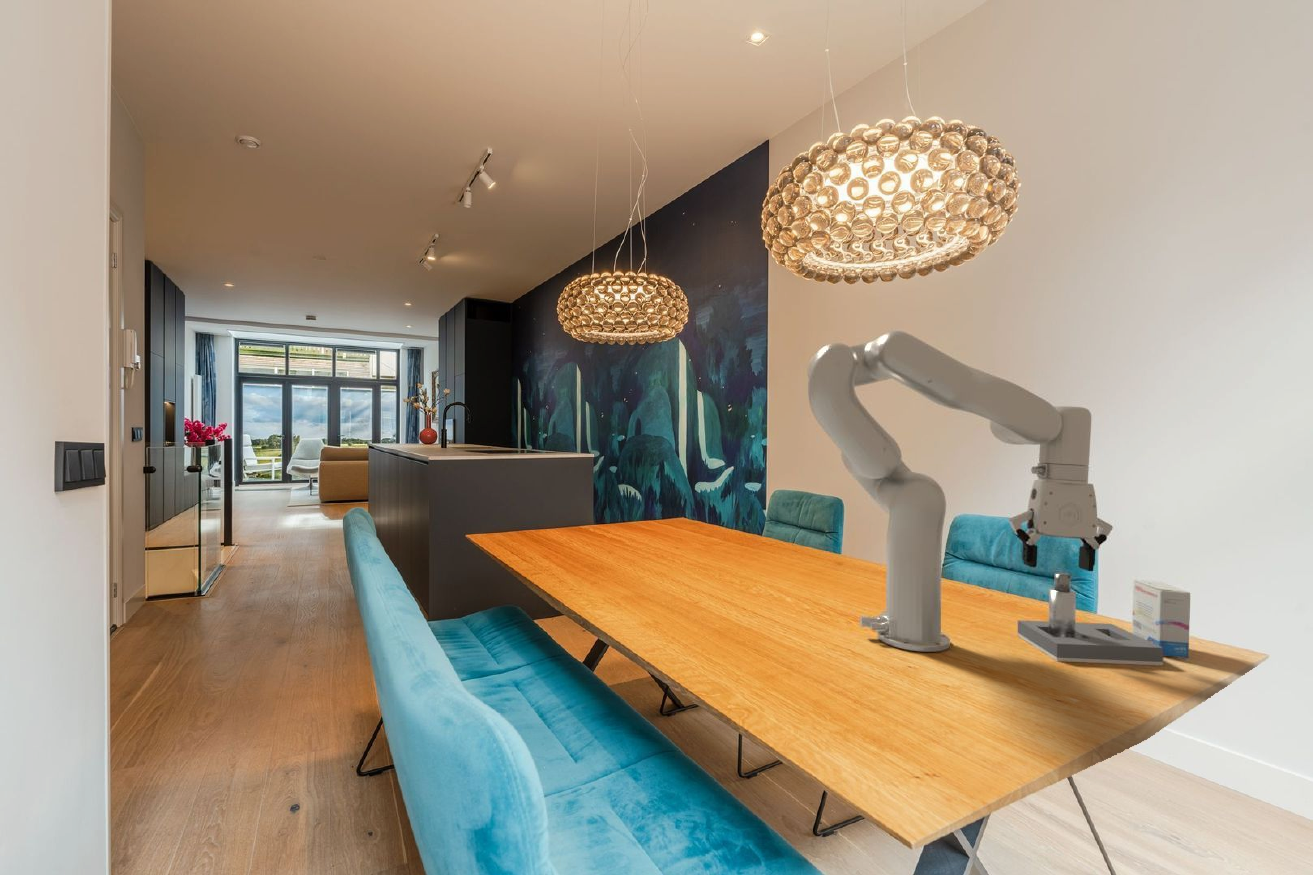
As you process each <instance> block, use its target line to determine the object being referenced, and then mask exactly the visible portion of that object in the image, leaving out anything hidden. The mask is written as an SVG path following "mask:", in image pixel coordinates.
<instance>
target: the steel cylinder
mask: <svg viewBox="0 0 1313 875" xmlns="http://www.w3.org/2000/svg"><path fill="white" fill-rule="evenodd" d="M1076 595H1077V594H1076V591H1075V590H1071V574H1070V573H1064V572H1054V587H1051V588H1048V621H1049V634H1050V635H1052V636H1053V637H1063V638H1075V622H1076V608H1077V607H1076V606H1077V605H1076V604H1077V603H1076V602H1077V601H1076V600H1077V599H1076V598H1077V597H1076Z"/></svg>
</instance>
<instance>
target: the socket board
mask: <svg viewBox="0 0 1313 875" xmlns="http://www.w3.org/2000/svg"><path fill="white" fill-rule="evenodd" d="M1017 637H1019V638H1020V639H1022V640H1023V641H1025V642H1027V644H1030V645H1031V646H1033V647H1034V648H1036V649H1038V650H1039V651H1040V652H1042V653H1044V654H1045V655H1046V656H1048V657H1050V658H1052V659H1053V660H1055V661H1056V662H1071V663H1075V662H1076V663H1091V664H1093V663H1094V664H1095V663H1096V664H1115V665H1116V664H1118V665H1119V664H1120V665H1142V666H1143V665H1144V666H1164V656H1163V648H1162V647H1160V646H1158V645H1156V644H1154V643H1152V642H1149V641H1147V640H1145V639H1143V638H1141V637H1139V636H1136V635H1134V634H1132V632H1130V631H1128V630H1125V629H1123V628H1122V627H1119V626H1117V625H1115V624H1112V623H1104V622H1103V623H1100V622H1099V623H1098V622H1097V623H1096V622H1077V621H1075V638H1063V637H1053V636H1052V635H1050V634H1049V620H1047V621H1046V620H1043V621H1042V620H1017Z"/></svg>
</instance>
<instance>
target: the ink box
mask: <svg viewBox="0 0 1313 875" xmlns="http://www.w3.org/2000/svg"><path fill="white" fill-rule="evenodd" d="M1132 588H1133V589H1132V590H1133V591H1132V592H1133V593H1132V594H1133V595H1132V619H1131V620H1132V621H1131V623H1132V624H1131V633H1132V634H1134V635H1136V636H1139V637H1141V638H1143V639H1145V640H1147V641H1149V642H1152V643H1154V644H1156V645H1158V646H1160V647H1162V648H1163V657H1173V658H1187V659H1188V658H1189V655H1190V654H1189V652H1190V651H1189V650H1190V649H1189V647H1190V619H1191V618H1190V614H1191V592H1190V591H1187V590H1184V589H1181V588H1178V587H1176V586H1173V585H1170V584H1167V583H1164V582H1163V581H1153V580H1142V579H1134V580H1133V587H1132Z"/></svg>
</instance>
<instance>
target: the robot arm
mask: <svg viewBox="0 0 1313 875" xmlns="http://www.w3.org/2000/svg"><path fill="white" fill-rule="evenodd" d="M806 372H807V378H808V382H807V383H808V384H807V394H808V395H807V396H808V402H809V406H810V408H811V412H812V414H813V417H814V418H815V419H816V421H817V423H818V424H819V426H820V427H821V429H823V431H824V432H825V433H826V434H827V435H828V437H829V438H830V439H831V441H832V442H833V443H834V444H835V445H836V447H837V448H838V449H839V450H840V451H841V452H840V453H841V455H840V456H841V460H842V462H843V465H844V467H845V469H847V471H848V472H849V474H850V475H851V476H852V477H853V478H854V479H855V480H856V481H857V482H858V483H859V485H860V486H861V487H862V488H863V489H864V491H865V492H867V494H868V495H869V496H870V497H871V498H872V499H873V501H875V503H876V504H877V505H878V506H879V507H880V508H881V509H882V510H883V512H885V513H888V514H889V515H888V516H889V519H888V525H887V534H886V545H885V546H886V555H885V556H886V574H885V575H886V576H885V577H886V578H885V579H886V580H885V581H886V583H885V592H886V593H885V610H883V611H882V610H881V611H880V612H881V613H880V615H876V616H875V617H874V616H873V617H871V616H865V615H864V616H863V615H862V616H861V615H860V617H859V625H860V627H861V628H864V627H865V628H869V629H870V630H871V631H873V630H874V631H876V635H877V638H878V639H879V640H880V641H881V642H882V643H884V644H887V645H889V646H892V647H895V648H898V649H901V650H902V649H903V650H905V651H906V650H907V651H911V652H912V651H914V652H922V653H925V652H926V653H927V652H928V653H933V652H935V653H936V652H941V651H945V650H947V649H949V648H950V647H951V638H950V637H949V636H948V635H946V634H945V633H943V632H942V552H943V551H942V543H943V530H944V526H945V525H944V524H945V519H946V518H945V517H946V513H947V512H946V510H947V501H946V495H945V492H944V490H943V488H942V487H941V485H940V484H939V483H938V481H937V480H935V479H934V478H932V477H930V476H929V475H927V474H923V473H920V472H916V471H913V470H911V469H910V468H909V467H908V466H907V465H906V463H905V462H904V460H902V450H901V448H900V446H899V444H898V442H896V440H895V439H894V437H892V436H891V435H890V434H889V433H888V432H887V430H885V428H883V426H881V424H880V423H879V422H878V421H877V420H876V419H875V418H874V417H873V416H872V415H871V414H870V413H869V411H868V410H867V409H866V407H865V406H864V405H863V403H862V402H861V401H860V399H859V398H858V396H857V393H856V390H855V388H856V387H861V386H866V385H870V384H874V383H875V384H876V383H879V382H883V381H887V380H891V379H893V380H894V381H896V382H898V383H900V384H901V385H904V386H906V387H907V388H908V389H910V390H912V391H914V392H916V393H918V394H919V395H921V396H923V397H925V398H926V399H928V400H929V401H931V402H933V403H935V404H937V405H939V406H942V407H944V408H948V409H951V410H952V409H953V410H956V411H957V410H958V411H962V412H966V413H971V414H974V415H977V416H979V417H982V418H985V419H986V420H988V421H989V429H990V431H991V434H993V436H994V437H995V438H996V439H997V440H998V441H1000V442H1003V443H1005V444H1009V445H1033V446H1035V445H1036V446H1037V445H1039V455H1038V456H1039V457H1038V463H1037V466H1032V467H1031V469H1030V470H1031V474H1036V477H1037V479H1035V480H1034V481H1033V483H1032V487H1031V491H1030V495H1029V499H1028V504H1027V505H1028V506H1027V511H1025V512H1022V513H1020V514H1017V515H1015V516H1012V517H1010V518H1009V519H1008V522H1009V525H1010V526H1011V528H1012V531H1013V534H1014V535H1015V536H1016V537H1017V538H1018V539H1019V540H1020V542H1021V543H1022V554H1021V558H1022V559H1021V560H1022V561H1023V564H1024V565H1025V566H1027V567H1030V568H1036V567H1037V564H1038V548H1039V547H1038V545H1035V543H1037V541H1039V539H1040V538H1041V537H1042V536H1044V537H1049V538H1064V539H1066V538H1067V539H1078V540H1079V541H1080V543H1081V544H1082V546H1081V545H1080V547H1079V548H1078V549H1079V551H1078V554H1079V555H1078V568H1080V570H1081V569H1082V570H1085V571H1088V572H1093V571H1094V568H1095V564H1096V550H1099V548H1100V546H1101V545H1102V544H1103V543H1105V542H1106V541H1107V539H1108V536H1109V535H1110V534H1111V531H1112V530H1113V529H1114V528H1113V525H1112V524H1110V523H1109V522H1106V521H1105V520H1103V519H1101V518H1099V517H1098V508H1097V507H1098V506H1097V498H1096V497H1097V496H1096V491H1095V486H1094V484H1093V483H1089V472H1090V468H1089V467H1090V466H1089V465H1090V451H1091V450H1090V449H1091V436H1092V433H1091V432H1092V414H1091V411H1090V409H1088V408H1086V407H1081V406H1069V405H1068V406H1066V405H1065V406H1060V405H1059V406H1054V405H1052V404H1051V402H1048V401H1047V400H1045V399H1043V397H1040V396H1038V395H1036V394H1035V393H1033V392H1031V391H1029V390H1027V389H1026V388H1023V387H1022V386H1020V385H1018V384H1015V383H1013V382H1011V381H1008V380H1006V379H1004V378H1001V377H999V376H996V375H993V374H990V373H988V372H985V371H983V370H980V369H977V368H974V367H972V366H968V365H966V364H964V363H963V362H961V361H959V360H957V359H955V358H954V357H951V356H949V355H948V354H946V353H944V352H942V351H941V350H939V349H937V348H935V347H933V346H932V345H930V344H928V343H926V342H925V341H922V340H921V339H919V338H917V337H915V336H914V335H912V334H910V333H908V332H904V331H901V330H893V331H889V332H885V333H884V334H882V335H880V336H879V337H878V338H876V339H875V340H872V341H868V342H864V343H859V344H856V345H855V344H854V345H851V346H849V345H847V344H845V343H842V342H834V343H828V344H826V345H824V346H823V347H821V348H820V349H819V350H818V351H816V353H815V354H814V356H813V357H812V358H811V359H810V360H809V363H808V365H807V371H806ZM1025 522H1026V529H1027V530H1026V531H1025V530H1024V529H1023V526H1022V524H1023V523H1025Z"/></svg>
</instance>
